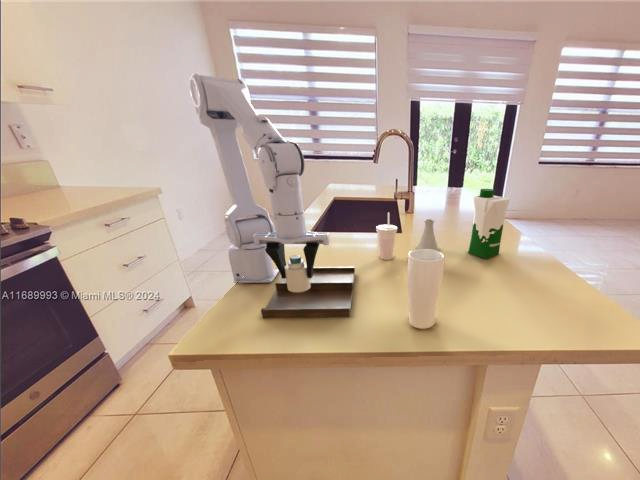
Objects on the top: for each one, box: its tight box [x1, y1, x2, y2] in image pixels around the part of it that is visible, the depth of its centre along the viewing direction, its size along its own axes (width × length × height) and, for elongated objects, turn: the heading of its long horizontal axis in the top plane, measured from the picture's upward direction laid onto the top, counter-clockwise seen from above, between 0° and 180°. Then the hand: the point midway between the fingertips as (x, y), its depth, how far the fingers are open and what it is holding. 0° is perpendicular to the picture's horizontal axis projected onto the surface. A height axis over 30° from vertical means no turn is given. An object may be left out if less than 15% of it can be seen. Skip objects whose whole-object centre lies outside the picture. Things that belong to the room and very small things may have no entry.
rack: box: [260, 266, 356, 319], centre depth 74 cm, size 18×21×3 cm
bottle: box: [284, 255, 311, 292], centre depth 66 cm, size 5×5×7 cm
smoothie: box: [375, 211, 398, 261], centre depth 95 cm, size 6×6×14 cm
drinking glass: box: [406, 248, 445, 330], centre depth 61 cm, size 7×7×15 cm
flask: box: [416, 218, 439, 251], centre depth 103 cm, size 7×7×10 cm
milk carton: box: [467, 188, 510, 260], centre depth 98 cm, size 9×9×20 cm
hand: (297, 276), depth 67 cm, fingers closed on bottle, 5 cm apart
